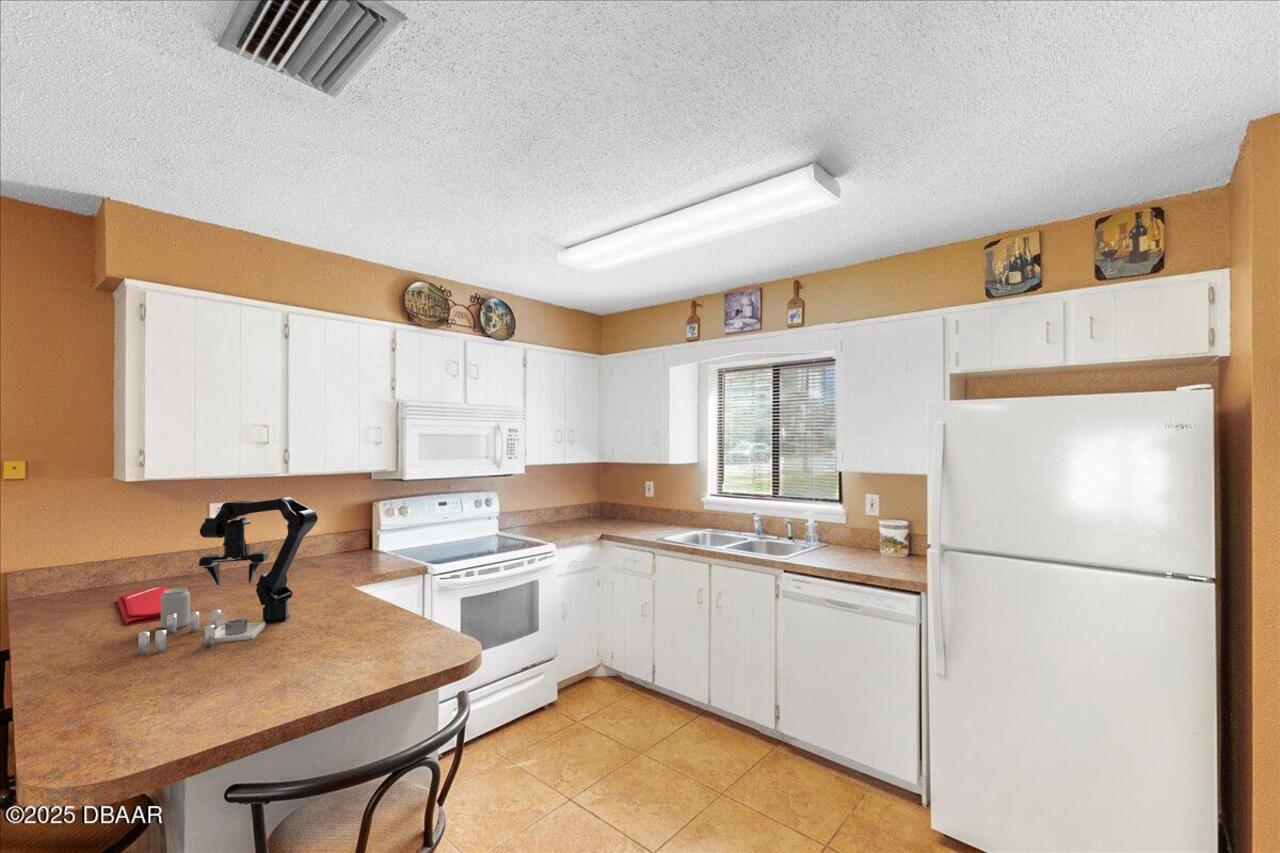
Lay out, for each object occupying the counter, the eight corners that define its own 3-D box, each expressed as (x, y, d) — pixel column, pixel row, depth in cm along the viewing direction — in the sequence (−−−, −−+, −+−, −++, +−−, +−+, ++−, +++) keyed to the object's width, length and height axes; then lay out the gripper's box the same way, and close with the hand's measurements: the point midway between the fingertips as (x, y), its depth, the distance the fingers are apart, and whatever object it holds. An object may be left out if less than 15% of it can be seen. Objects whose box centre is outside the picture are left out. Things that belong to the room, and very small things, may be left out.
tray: (265, 626, 189) (265, 621, 189) (252, 639, 177) (252, 634, 177) (220, 630, 185) (220, 626, 185) (204, 644, 173) (204, 639, 173)
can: (173, 630, 186) (173, 593, 186) (154, 629, 187) (154, 592, 187) (195, 623, 193) (195, 587, 193) (177, 622, 195) (177, 586, 195)
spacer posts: (236, 626, 190) (236, 607, 190) (212, 647, 171) (212, 626, 171) (169, 632, 184) (168, 613, 184) (136, 655, 165) (136, 634, 165)
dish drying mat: (125, 627, 191) (125, 616, 191) (116, 602, 220) (116, 593, 220) (185, 616, 202) (185, 605, 202) (169, 594, 231) (169, 585, 231)
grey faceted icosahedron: (248, 629, 185) (248, 618, 185) (242, 635, 179) (242, 623, 179) (230, 630, 183) (230, 619, 183) (223, 636, 178) (223, 625, 178)
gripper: (272, 532, 208) (272, 575, 208) (211, 535, 202) (211, 580, 202) (263, 537, 197) (263, 583, 197) (198, 541, 192) (198, 588, 191)
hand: (234, 583), depth 197 cm, fingers open, 9 cm apart
